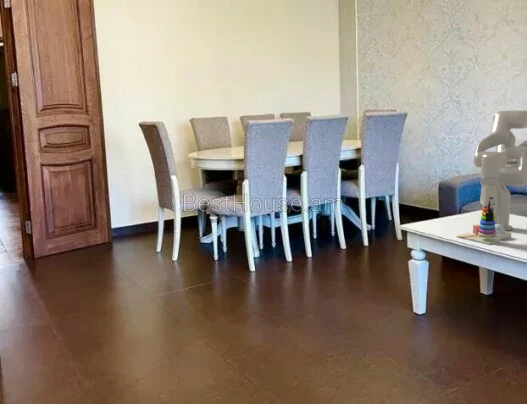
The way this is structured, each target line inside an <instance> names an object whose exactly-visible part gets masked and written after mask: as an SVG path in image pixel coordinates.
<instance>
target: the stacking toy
mask: <svg viewBox="0 0 527 404" xmlns="http://www.w3.org/2000/svg"><path fill="white" fill-rule="evenodd" d="M493 204H494V203H493ZM488 206H490V205H488ZM481 210H482V211H481V216H480V220H479V224H478V225H479V227H480V228H479V233H478V236H479V237H482V238H494V237H496V233H495V232H496V229H495V227H496V226H495V221H494V219H495V217H494V216H493V222H486V213H487V207H483V206H482V209H481ZM488 210H489V208H488ZM494 215H495V213H494Z"/></svg>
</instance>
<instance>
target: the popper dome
mask: <svg viewBox="0 0 527 404" xmlns="http://www.w3.org/2000/svg"><path fill="white" fill-rule="evenodd" d="M495 226H496V227H495V229H496V232H495V233H496V234H498V235H501V234H505V229H503V226H502V225H500V224H495Z"/></svg>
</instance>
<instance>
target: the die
mask: <svg viewBox="0 0 527 404" xmlns="http://www.w3.org/2000/svg"><path fill="white" fill-rule="evenodd" d="M479 225H480V224H473V225H472V234H475V235H478V233H479V228H480V227H479Z"/></svg>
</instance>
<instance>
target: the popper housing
mask: <svg viewBox="0 0 527 404" xmlns="http://www.w3.org/2000/svg"><path fill="white" fill-rule="evenodd" d="M511 238H512V232H511V231H508V230H507V231H505V234H501V235H498V234H496V237H494V238H493V239H498V240H501V241H505V240H508V239H511Z"/></svg>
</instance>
